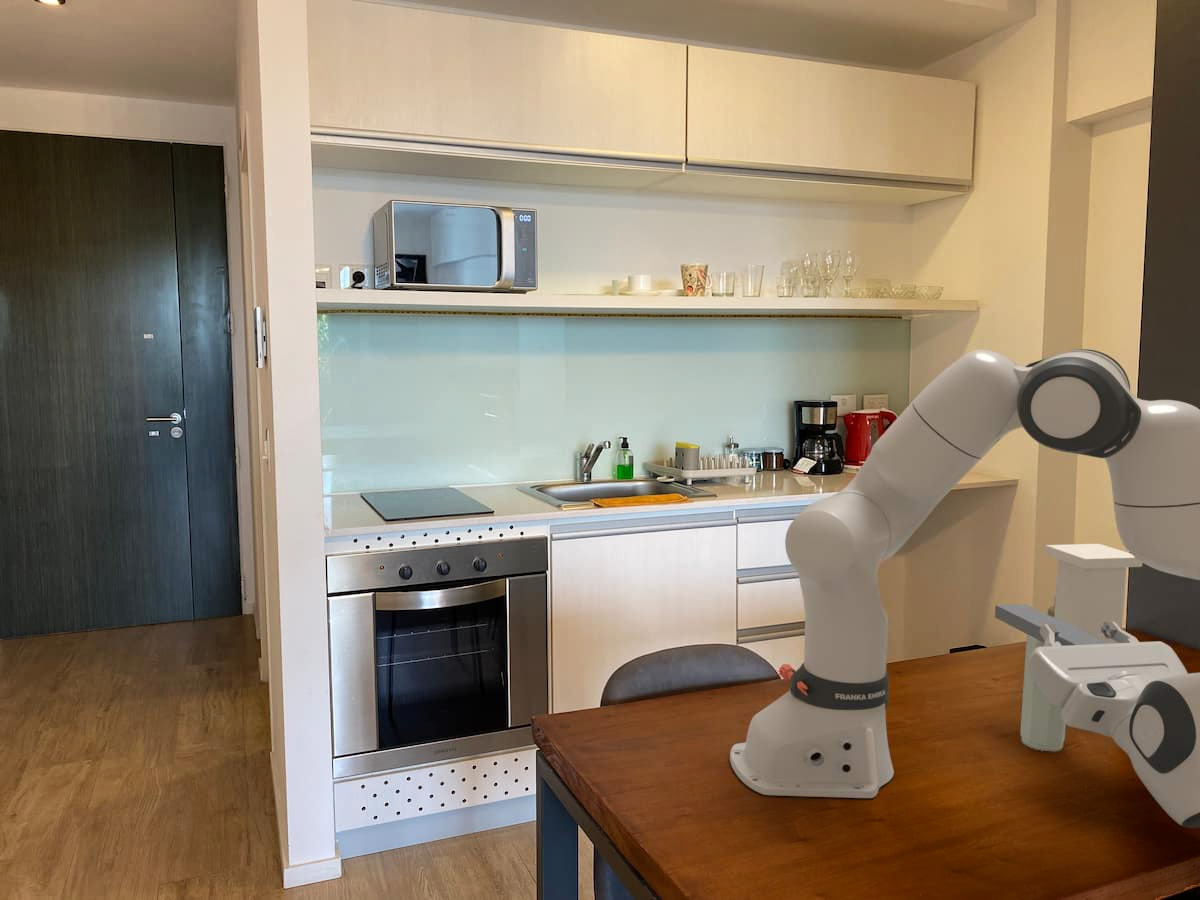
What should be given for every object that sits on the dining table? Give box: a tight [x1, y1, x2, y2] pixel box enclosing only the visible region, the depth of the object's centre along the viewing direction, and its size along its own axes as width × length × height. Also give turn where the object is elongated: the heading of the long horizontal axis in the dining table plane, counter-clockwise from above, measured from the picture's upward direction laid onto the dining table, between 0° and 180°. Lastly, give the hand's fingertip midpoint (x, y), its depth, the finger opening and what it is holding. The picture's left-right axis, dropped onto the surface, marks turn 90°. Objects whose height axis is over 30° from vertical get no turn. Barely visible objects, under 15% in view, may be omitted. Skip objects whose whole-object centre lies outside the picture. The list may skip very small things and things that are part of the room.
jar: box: [1019, 634, 1067, 753], centre depth 136 cm, size 6×6×16 cm
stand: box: [1044, 543, 1143, 644], centre depth 150 cm, size 10×10×26 cm
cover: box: [994, 603, 1109, 646], centre depth 134 cm, size 5×20×2 cm, turn 8°
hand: (1076, 625), depth 129 cm, fingers open, 8 cm apart
